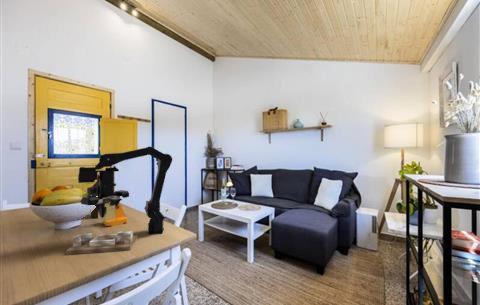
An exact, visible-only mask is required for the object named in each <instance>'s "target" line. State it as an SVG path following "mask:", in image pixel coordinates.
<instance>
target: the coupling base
mask: <svg viewBox="0 0 480 305" xmlns="http://www.w3.org/2000/svg"><path fill="white" fill-rule="evenodd" d="M138 238H139V235H138V234H136V235H135V234H134V231H133V230H132V231H131V230H129V231H128V230H120V231H118V232H117V233H111V234H96V236H94V237H93V232H87V233H79V234H76V235H75V236H73V237H72V242H73V243H72V246H71V247H70V248H68V249H67V250H66V255H80V254H81V255H82V254H93V253H95V254H96V253H107V252H110V253H111V252H121V251H131V250H132V248H133V246H134V245H135V244H136V242H137V241H138Z"/></svg>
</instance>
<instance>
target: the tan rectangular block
mask: <svg viewBox="0 0 480 305" xmlns="http://www.w3.org/2000/svg"><path fill="white" fill-rule="evenodd" d="M114 218H115V205H113V204H108V203H106V204H105V208H104V216H103V218H101V217H100V214H99V212H98V218H97V219H98V220H101V221H103V220H106V221H107V220H111V219H114Z"/></svg>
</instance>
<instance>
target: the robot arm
mask: <svg viewBox="0 0 480 305" xmlns="http://www.w3.org/2000/svg"><path fill="white" fill-rule="evenodd" d="M146 156H150V157H153V158H154V159H156V160H157V173H156V178H155V181H154V185H153V190H152V193H151V196H150V199H149V201H148V200H145V201H146V202H145V207H144V212H145V214H146V216H147V217H148V218H149V221H148V224H147V228H148V229H147V231H148V235H155V234H156V235H157V234H158V235H159V234H160V235H161V234H163V232H164V231H165V230H164V229H165V228H164V220H165V215H164V214H163V213H162V212H161V197H162V196H161V195H162V192H163V188H164V185H165V184H164V183H165V180H166V175H167V173H168V170H169V169H170V167H171V165H172V162H173V157H172V155H171V154H168V153H163V152H161V151H160V150H158V149H156V148H155V147H154V146H146V147H144V148H138V149H133V150H129V151H125V152H123V151H122V152H115V153H114V152H112V153H109V152H108V153H104V154H101V156H100V157H99V160H98V161H99V162H98V163H97V164H95V166H92V167H91V166H89V167H88V166H87V167H86V166H80V167H79V169H78V175H77V177H78V178H77V179H78V183H79V184H87V183H88V184H89V183H96V181H97V180H98V175H99V184H98V185H97V188H94V187H92V186H89V187H87V189H86V192H87V196H83V197H82V198H81V199H80V204H81V205H86V206H90V205H95V206H96V208H97V210H98V212H99V214H100V217H101V218H103V216H104V208H105V203H103V200H105V199H109V201H110V204H113V205H115V209H116V207H117V205H118V204H119V203H121V202H122V201H123V199H124V198H125V199H126V198H129V197H130V192H129V191H128V190H123V189H120V190H115V187H116V186H117V183H115V172H119V170H120V169H118V168H117V166H116V165H117V164H119V163H121V162H124V161H127V160H132V159H136V158H140V157H146ZM103 168H105V169H103ZM90 195H92V196H90ZM96 196H98V197H96ZM109 196H110V197H109ZM104 197H105V198H104ZM121 197H122V198H121Z"/></svg>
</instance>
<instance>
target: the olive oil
mask: <svg viewBox="0 0 480 305" xmlns="http://www.w3.org/2000/svg"><path fill="white" fill-rule="evenodd" d="M98 184H99V174H98V180H96V181H95V182H94V184H93V185H92V186H91V187H94V188H97V185H98ZM109 197H110V196H109ZM104 198H105V197H104ZM103 203H105V204H106V203H108V204H110V201H109V199H105V200H103ZM90 218H92V219H98V210H97V208H95V209H94V210H93V211H92V212H91V211H90Z"/></svg>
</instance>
